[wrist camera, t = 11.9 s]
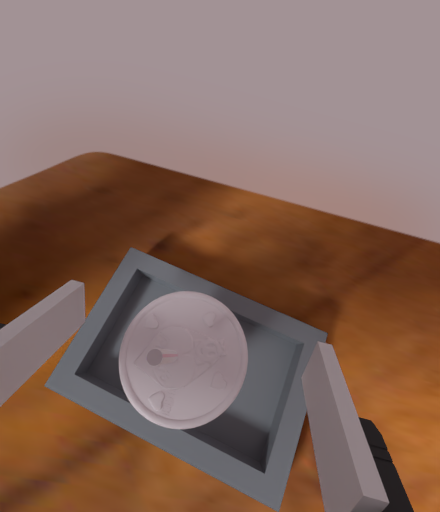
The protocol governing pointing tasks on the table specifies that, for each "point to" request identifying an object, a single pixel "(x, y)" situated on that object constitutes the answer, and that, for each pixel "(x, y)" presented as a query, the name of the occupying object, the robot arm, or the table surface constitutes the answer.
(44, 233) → the table surface
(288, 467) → the tray
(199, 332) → the smoothie
